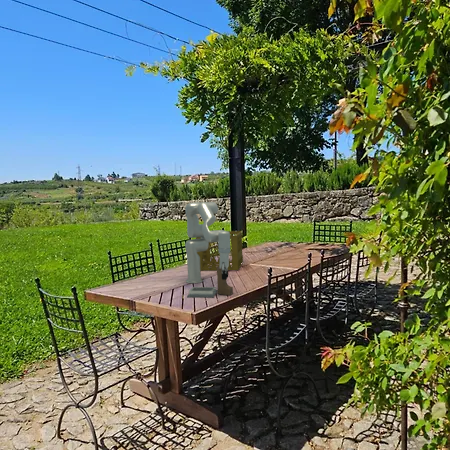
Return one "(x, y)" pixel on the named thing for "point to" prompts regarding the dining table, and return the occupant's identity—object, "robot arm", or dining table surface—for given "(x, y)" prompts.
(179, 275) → the dining table surface
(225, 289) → the wooden block
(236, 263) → the milk crate
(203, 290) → the end cap
